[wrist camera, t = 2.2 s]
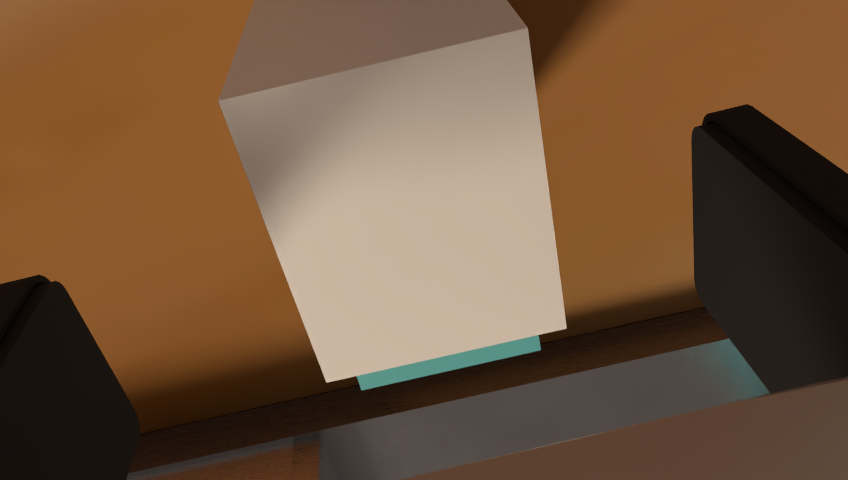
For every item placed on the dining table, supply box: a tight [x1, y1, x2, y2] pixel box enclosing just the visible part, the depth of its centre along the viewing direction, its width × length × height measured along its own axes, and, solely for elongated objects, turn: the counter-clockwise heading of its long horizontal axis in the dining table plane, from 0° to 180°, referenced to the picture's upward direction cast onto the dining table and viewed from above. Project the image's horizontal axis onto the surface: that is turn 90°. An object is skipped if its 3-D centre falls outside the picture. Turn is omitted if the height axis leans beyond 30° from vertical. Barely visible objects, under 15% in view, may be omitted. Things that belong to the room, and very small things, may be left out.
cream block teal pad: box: [218, 0, 567, 390], centre depth 14 cm, size 4×6×8 cm
